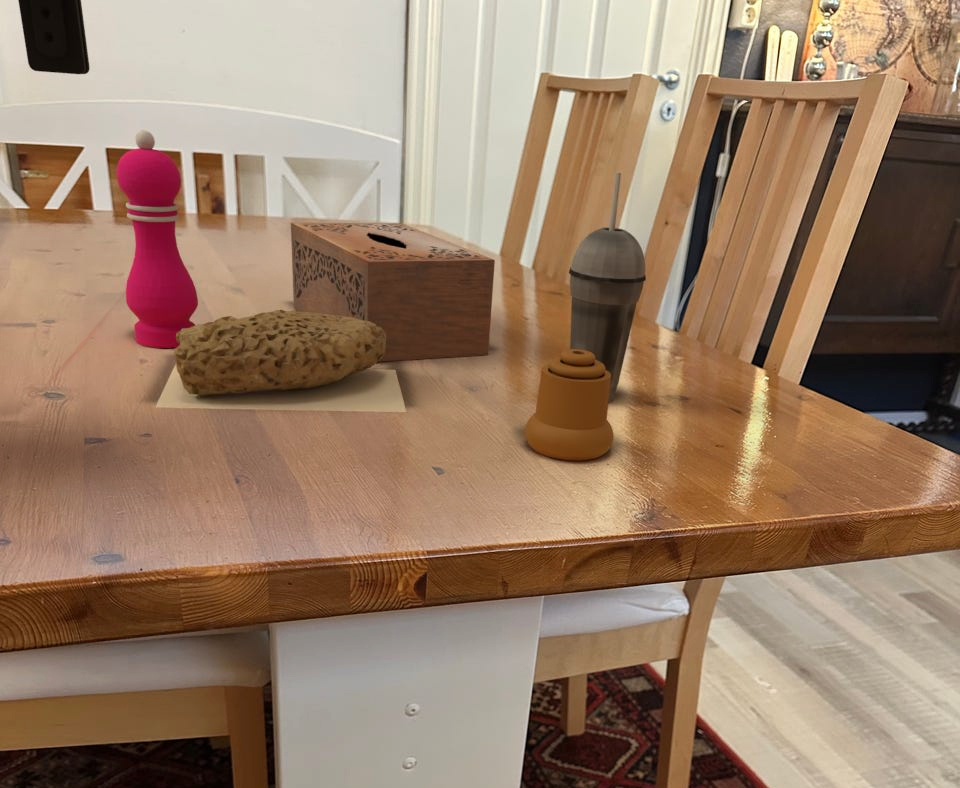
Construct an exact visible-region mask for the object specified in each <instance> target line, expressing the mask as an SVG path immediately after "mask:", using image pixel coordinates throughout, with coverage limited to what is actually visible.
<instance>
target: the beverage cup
mask: <svg viewBox="0 0 960 788" xmlns="http://www.w3.org/2000/svg"><path fill="white" fill-rule="evenodd" d="M621 176H622V173H621V172H615V175H614V181H613V184H614V185H613V192H612V201H611V210H610V218H609V226H608V227H601V228H598V229H595V230H594V231H592V232H590V233H589V234H588V235H587V236H585V237H584V238H583V239H582V241H581V242H580V243H579V244H578V246H577V248H576V250H575V252H574V254H573V257H572V261H571V266H570V267H569V271H568V274H569V275H570V276H569V290H570V296H571V308H570V309H571V311H570V340H569V341H570V342H569V344H570V345H569V349H580V350H586V351H589V352H591V353H593V354H594V355H595V360H597V361H600V362H601V363H603V364H604V366H605V370H607V371H608V372H610V374H611V381H610V391H609V401H608V403H612V402H613V401H614V400H615V395H616V394H615V393H617V392H616V391H617V388H618V385H619V383H620V378H621V373H622V370H623V364H624V360H625V356H626V352H627V347H628V344H629V343H628V342H629V338H630V334H631V329H632V325H633V322H634V317H635V312H636V309H637V303H639V301H640V298H641V295H642V293H643V288H644V284H645V281H647V277H646V276H647V275H646V260H645V255H644V251H643V249H642V246H641V244H640V243H639V241H638V240H637V238H636V237H635V236H634V235H632V233H631V232H628V231H627V230H625V229H622V228H617V227H616V224H617V223H616V222H617V213H618V206H619V204H618V203H619V195H620V186H621V178H622V177H621Z"/></svg>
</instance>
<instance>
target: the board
mask: <svg viewBox="0 0 960 788" xmlns="http://www.w3.org/2000/svg"><path fill="white" fill-rule="evenodd" d="M405 405H406V404H405V401H404V398H403V393H402V390H401V385H400V383H399V378H398V375H397V371H396V369H382V368H381V369H376V368H367V369H366V370H364V371H361V372H358V373H354V374H352V375H349V376H347V377H346V378H343V379H341V380H339V381H337V382H334V383H329V384H325V385H321V386H316V387H312V388H292V389H287V390H276V389H272V390H269V391H267V390H265V391H262V392H260V391H254V392H246V393H242V394H234V393H230V394H210V395H194V394H189V393H188V392H187V390H185V389H184V386H183V383H182V381H181V378H180V374H179V373H178V372H177V368H176V363H175V364H174V366H173V369H172V371H171V372H170V374H169V376H168V379H167V381H166V383H165V386H164V388H163V390H162V392H161V394H160V396H159V398H158V400H157V403H156V405H155V406H154V408H155V409H180V410H181V409H185V410H186V409H190V410H191V409H192V410H197V409H198V410H237V411H238V410H240V411H241V410H245V411H246V410H247V411H248V410H249V411H294V412H296V411H298V412H299V411H300V412H349V413H350V412H352V413H353V412H355V413H356V412H357V413H402V414H403V413H405V414H406V413H407V409H406V406H405Z"/></svg>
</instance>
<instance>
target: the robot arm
mask: <svg viewBox="0 0 960 788" xmlns="http://www.w3.org/2000/svg"><path fill="white" fill-rule="evenodd" d="M17 1H18V6H19V7H18V8H19V13H20V20H21V25H22V32H23V39H24V44H25V51H26V59H27V63H28V66H29V68H30V70H32V71H33V72H40V73H41V72H43V73H56V74H70V75H87V74H88V73H89V72H90V68H91V67H90V61H89V53H88V45H87V37H86V30H85V29H86V28H85V22H84V13H83V6H82V0H17Z"/></svg>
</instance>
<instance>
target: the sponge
mask: <svg viewBox="0 0 960 788" xmlns="http://www.w3.org/2000/svg"><path fill="white" fill-rule="evenodd" d="M176 339H177V342H178V343H180V345H179V346H178V347H177V348H174V351H173V354H174V359H175V364H176V368H177V372H178V373H179V374H180V378H181V381H182V383H183V386H184V389H185V390H187V392H188V393H189V394H194V395H210V394H230V393H234V394H242V393H246V392H254V391H260V392H262V391H265V390H267V391H269V390H272V389H276V390H287V389H292V388H312V387H316V386H321V385H325V384H329V383H334V382H337V381H339V380H341V379H343V378H346V377H347V376H349V375H352V374H354V373H358V372H361V371H364V370H366V369H371V368H373V366H375V365H376V364H377V363H378V362H377V361H378V360H380V359H381V358H382V357H383V356H384V354H385V346H386V334H385V332H384V330H383V329H382V328H381V327H380V326H379V327H377V326H376V324H374V323H372V322H370V321H368V320H367V321H363V320H360V319H356V318H353V317H345V316H336V315H329V314H318V313H310V312H300V311H296V310H283V309H278V310H274V311H267V312H260V313H257V314H255V315H253V316H252V315H251V316H245V317H240V318H236V317H234V316H232V315H228V316H222V317H220V318H218V319H216V320H213V321H209V322H205V323H201V324H200V323H198V324H197V325H196V324H195V326H192V327H190V328H183V329H181V331H180V332H178V333H176Z"/></svg>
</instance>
